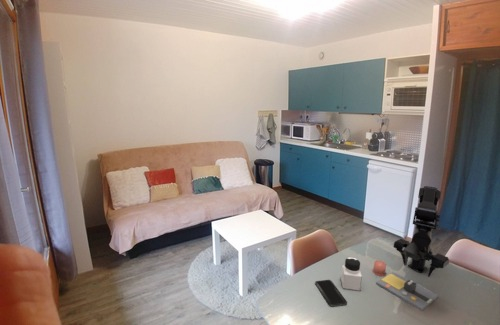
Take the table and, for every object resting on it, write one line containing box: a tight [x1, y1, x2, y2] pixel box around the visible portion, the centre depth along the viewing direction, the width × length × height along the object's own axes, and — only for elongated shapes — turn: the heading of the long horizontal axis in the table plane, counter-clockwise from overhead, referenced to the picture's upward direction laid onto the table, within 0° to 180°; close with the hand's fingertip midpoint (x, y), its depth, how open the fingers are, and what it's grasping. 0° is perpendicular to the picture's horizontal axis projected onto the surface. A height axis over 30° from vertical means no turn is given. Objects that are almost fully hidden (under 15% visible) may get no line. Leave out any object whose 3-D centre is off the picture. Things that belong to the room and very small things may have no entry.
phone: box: [314, 279, 348, 308], centre depth 113 cm, size 8×1×15 cm
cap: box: [372, 259, 387, 277], centre depth 127 cm, size 5×5×5 cm
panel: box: [375, 271, 439, 312], centre depth 115 cm, size 14×19×2 cm
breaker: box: [404, 279, 417, 293], centre depth 113 cm, size 4×3×4 cm
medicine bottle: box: [340, 257, 363, 292], centre depth 117 cm, size 7×7×12 cm
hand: (416, 270), depth 111 cm, fingers open, 9 cm apart
